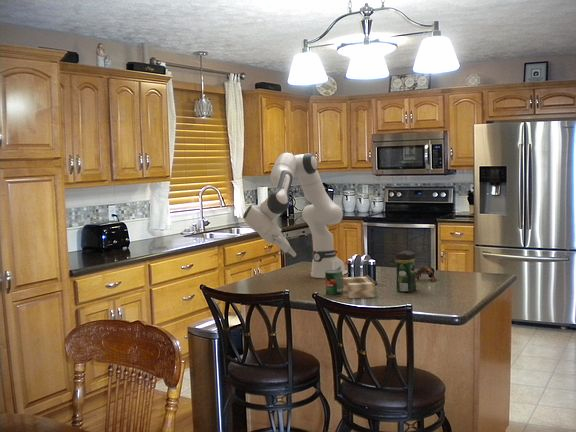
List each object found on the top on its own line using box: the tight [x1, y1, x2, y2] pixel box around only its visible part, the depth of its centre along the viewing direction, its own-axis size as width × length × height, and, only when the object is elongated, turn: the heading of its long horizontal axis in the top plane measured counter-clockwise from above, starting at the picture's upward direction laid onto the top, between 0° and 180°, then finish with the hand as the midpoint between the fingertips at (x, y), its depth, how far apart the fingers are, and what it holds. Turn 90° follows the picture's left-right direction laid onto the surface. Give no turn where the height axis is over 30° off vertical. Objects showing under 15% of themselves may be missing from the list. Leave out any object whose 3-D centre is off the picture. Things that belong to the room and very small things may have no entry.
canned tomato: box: [324, 270, 344, 298], centre depth 283 cm, size 8×8×11 cm
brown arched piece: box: [415, 265, 437, 282], centre depth 309 cm, size 12×10×8 cm
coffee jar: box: [394, 250, 417, 293], centre depth 285 cm, size 10×8×19 cm
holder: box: [342, 274, 376, 299], centre depth 283 cm, size 12×19×7 cm, turn 3°
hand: (295, 254), depth 281 cm, fingers open, 6 cm apart
